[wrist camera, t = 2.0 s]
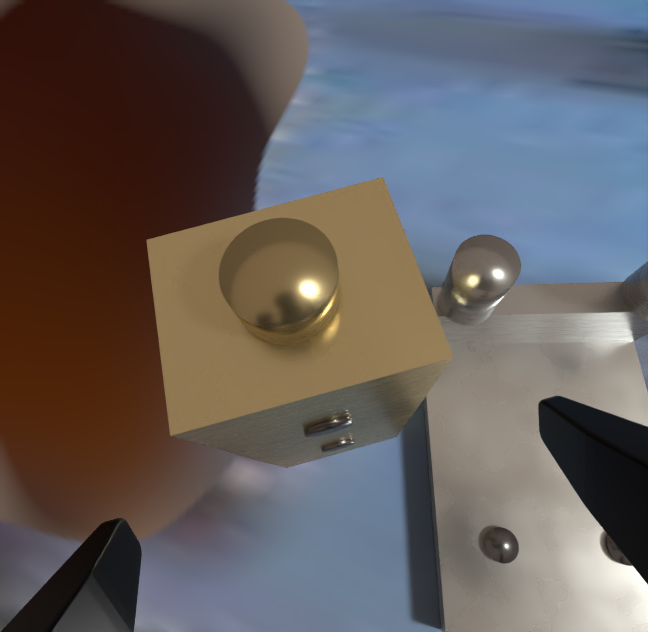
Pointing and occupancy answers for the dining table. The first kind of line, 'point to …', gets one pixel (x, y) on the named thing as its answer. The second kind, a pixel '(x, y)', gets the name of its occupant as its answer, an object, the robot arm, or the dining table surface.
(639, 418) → the fixed leaf
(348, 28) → the dining table surface
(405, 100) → the dining table surface
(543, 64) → the dining table surface
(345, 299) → the loose leaf
